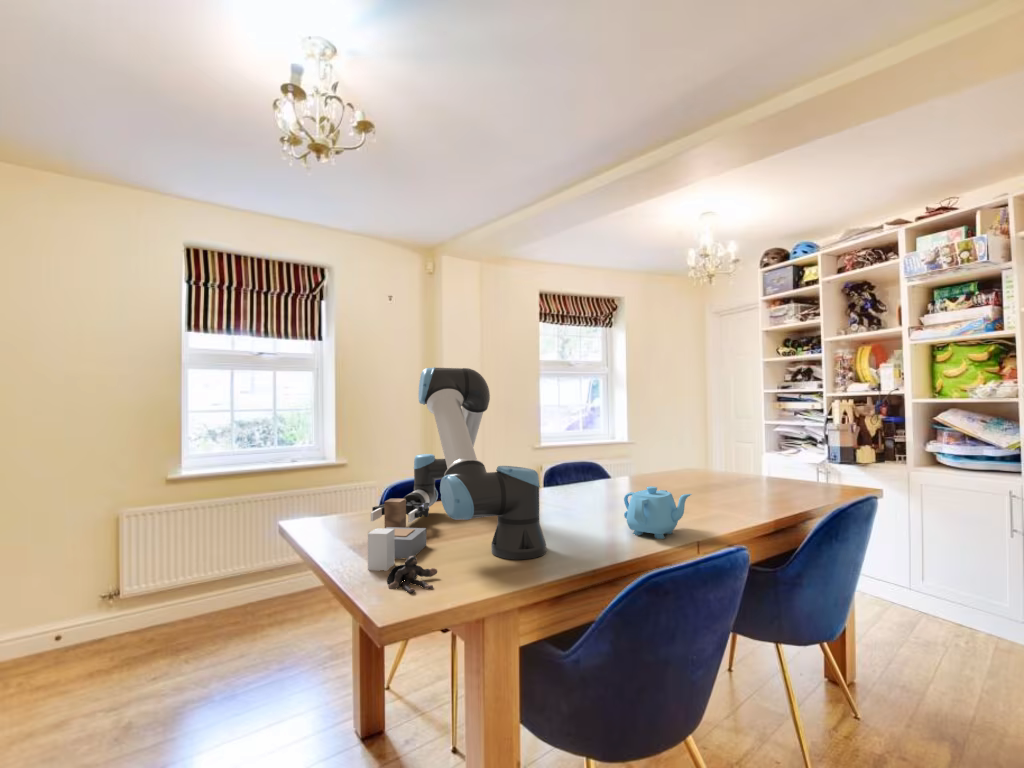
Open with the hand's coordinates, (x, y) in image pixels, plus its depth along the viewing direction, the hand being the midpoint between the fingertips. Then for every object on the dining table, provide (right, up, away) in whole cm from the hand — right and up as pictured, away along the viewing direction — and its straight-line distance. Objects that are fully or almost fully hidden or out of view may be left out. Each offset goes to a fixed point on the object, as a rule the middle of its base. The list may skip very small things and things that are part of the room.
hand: (390, 517), depth 151 cm
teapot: (+82, -6, +2) cm, 82 cm away
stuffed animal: (+14, -6, -36) cm, 39 cm away
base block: (+5, -6, -13) cm, 15 cm away
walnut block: (+1, -7, +4) cm, 8 cm away
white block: (+4, -6, -26) cm, 27 cm away
